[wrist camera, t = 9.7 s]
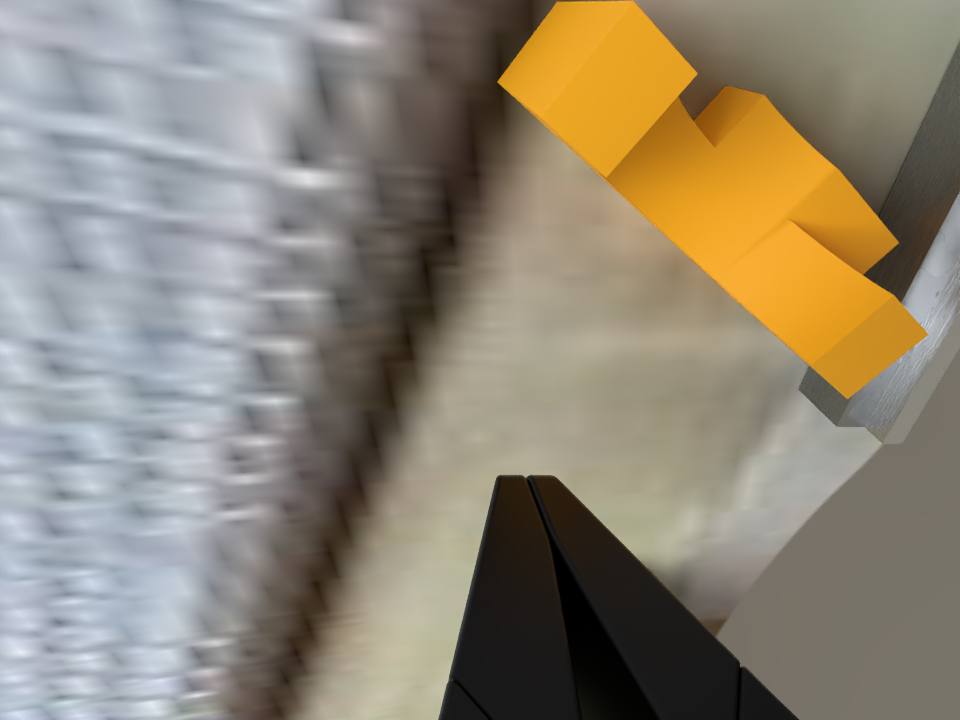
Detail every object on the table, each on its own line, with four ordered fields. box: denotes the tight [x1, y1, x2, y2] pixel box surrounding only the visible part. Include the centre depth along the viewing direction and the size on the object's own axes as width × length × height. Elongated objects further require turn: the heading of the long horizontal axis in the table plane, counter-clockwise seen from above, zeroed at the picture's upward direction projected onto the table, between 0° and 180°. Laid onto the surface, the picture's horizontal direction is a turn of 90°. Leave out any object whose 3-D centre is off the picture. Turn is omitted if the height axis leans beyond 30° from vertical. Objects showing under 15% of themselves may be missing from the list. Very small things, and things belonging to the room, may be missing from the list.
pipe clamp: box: [498, 1, 929, 399], centre depth 16 cm, size 12×4×6 cm, turn 51°
